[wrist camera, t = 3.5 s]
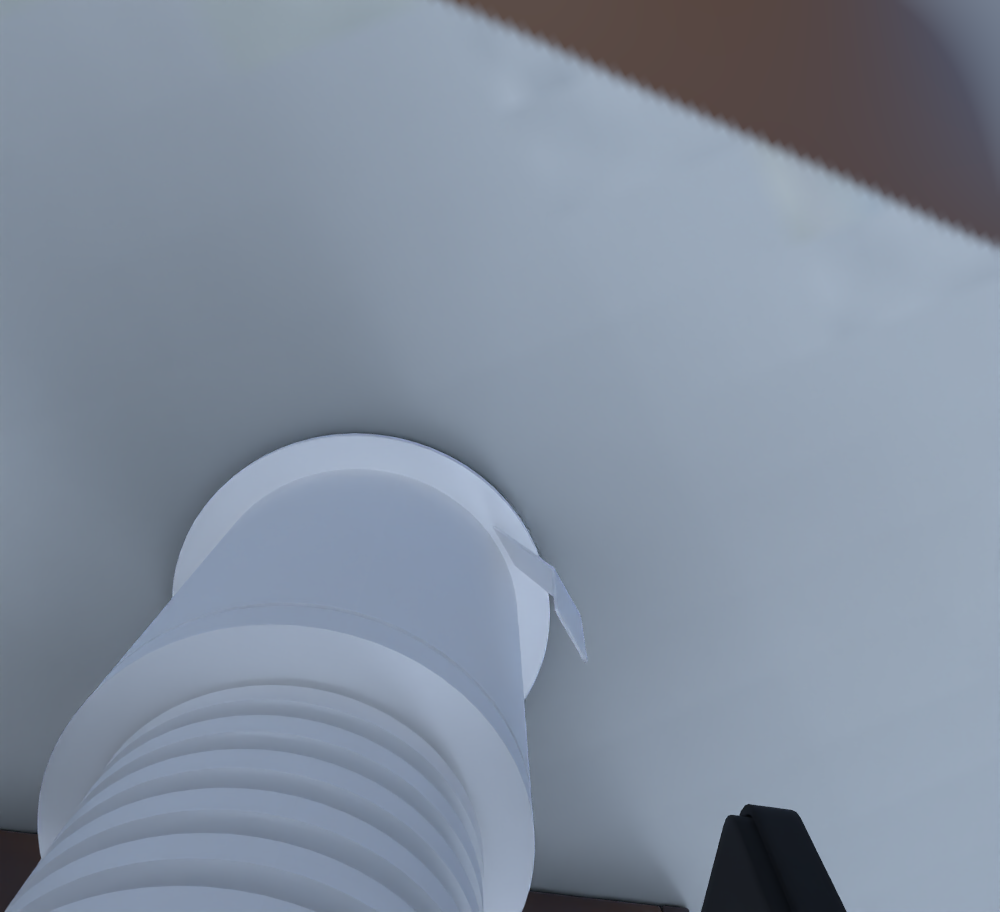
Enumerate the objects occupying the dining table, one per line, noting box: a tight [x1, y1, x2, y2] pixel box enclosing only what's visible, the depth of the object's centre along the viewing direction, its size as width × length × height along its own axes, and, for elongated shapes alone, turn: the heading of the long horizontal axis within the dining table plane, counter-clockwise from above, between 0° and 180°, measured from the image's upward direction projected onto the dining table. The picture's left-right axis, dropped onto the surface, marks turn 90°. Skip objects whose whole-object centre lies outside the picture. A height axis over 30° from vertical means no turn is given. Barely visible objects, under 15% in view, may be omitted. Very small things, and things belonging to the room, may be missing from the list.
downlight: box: [5, 433, 588, 912], centre depth 12 cm, size 8×7×10 cm
